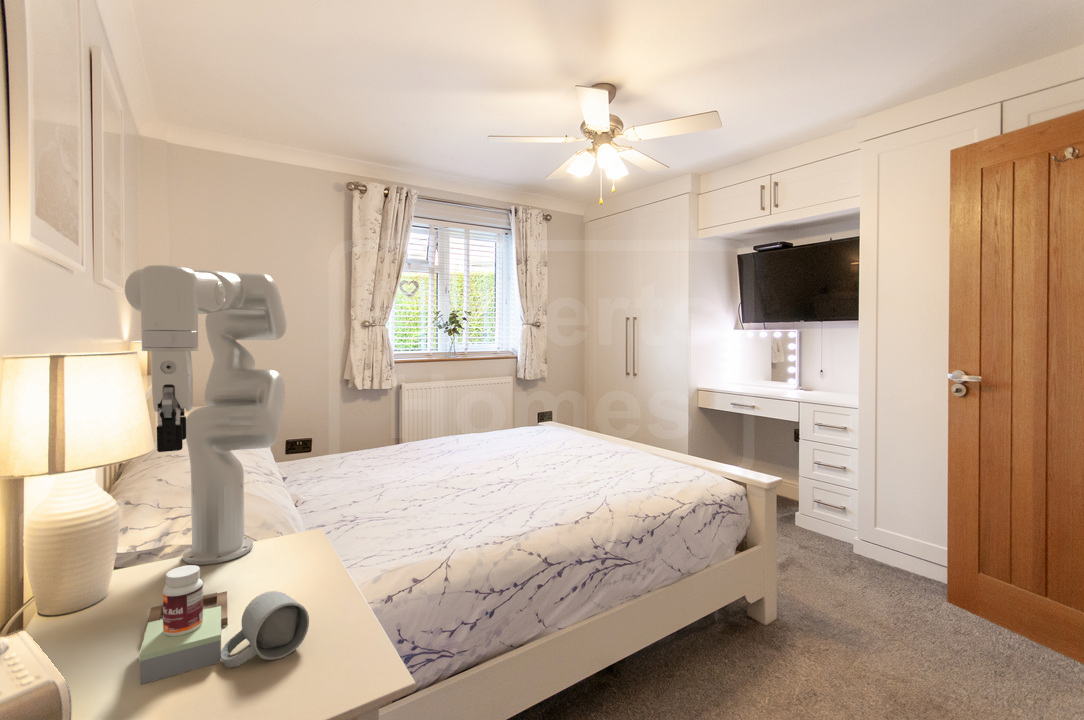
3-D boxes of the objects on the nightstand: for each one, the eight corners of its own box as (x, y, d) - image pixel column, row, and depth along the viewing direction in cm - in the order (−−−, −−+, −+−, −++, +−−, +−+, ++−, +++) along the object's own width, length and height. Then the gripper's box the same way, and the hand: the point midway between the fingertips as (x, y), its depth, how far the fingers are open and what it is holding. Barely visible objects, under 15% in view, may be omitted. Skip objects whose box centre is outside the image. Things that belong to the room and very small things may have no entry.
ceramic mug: (289, 624, 81) (287, 578, 81) (310, 645, 76) (309, 596, 75) (213, 655, 74) (211, 604, 73) (231, 681, 68) (228, 626, 68)
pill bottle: (154, 635, 71) (153, 576, 71) (184, 617, 76) (183, 562, 76) (182, 639, 70) (181, 580, 70) (211, 621, 75) (210, 565, 75)
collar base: (151, 613, 84) (151, 606, 84) (227, 596, 90) (227, 590, 90) (142, 647, 75) (142, 639, 75) (227, 625, 81) (227, 618, 81)
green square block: (148, 649, 75) (148, 622, 74) (221, 630, 79) (221, 605, 79) (139, 684, 67) (139, 655, 67) (221, 662, 72) (220, 634, 72)
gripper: (195, 342, 78) (197, 453, 78) (200, 341, 92) (201, 434, 93) (133, 342, 74) (136, 458, 74) (148, 341, 88) (150, 438, 89)
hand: (172, 445), depth 84 cm, fingers open, 9 cm apart
